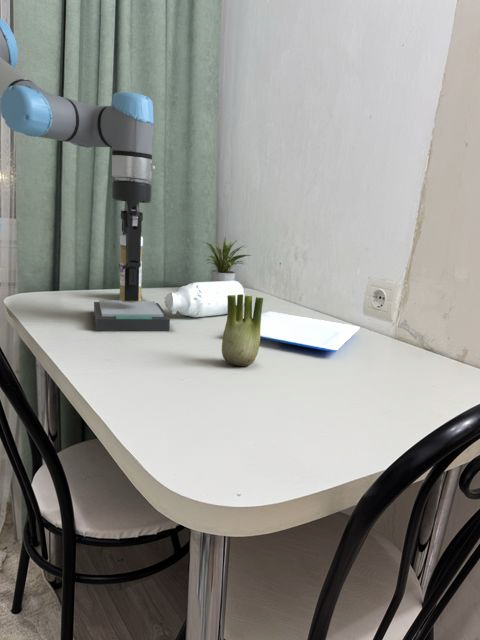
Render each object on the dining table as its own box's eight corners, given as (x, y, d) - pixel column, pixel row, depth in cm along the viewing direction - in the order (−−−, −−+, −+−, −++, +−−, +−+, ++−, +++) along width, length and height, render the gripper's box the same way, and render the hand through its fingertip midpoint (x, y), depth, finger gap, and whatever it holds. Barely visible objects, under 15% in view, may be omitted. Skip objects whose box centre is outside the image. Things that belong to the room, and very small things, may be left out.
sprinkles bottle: (114, 300, 105) (114, 234, 101) (131, 297, 109) (132, 234, 105) (129, 304, 103) (130, 236, 99) (146, 301, 106) (147, 236, 103)
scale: (93, 312, 112) (93, 299, 111) (157, 313, 117) (158, 300, 116) (96, 331, 97) (96, 315, 97) (169, 330, 102) (170, 316, 101)
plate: (359, 335, 113) (360, 326, 113) (335, 359, 93) (337, 349, 92) (266, 319, 121) (267, 310, 120) (226, 338, 100) (226, 328, 100)
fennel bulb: (259, 363, 87) (266, 294, 83) (250, 371, 82) (256, 299, 79) (228, 357, 88) (233, 289, 85) (217, 365, 84) (222, 293, 81)
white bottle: (158, 315, 114) (159, 280, 112) (223, 309, 127) (225, 277, 125) (177, 323, 109) (179, 287, 106) (244, 316, 121) (246, 283, 119)
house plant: (214, 299, 139) (218, 238, 134) (186, 289, 149) (189, 233, 144) (253, 296, 148) (258, 239, 144) (224, 287, 158) (228, 234, 153)
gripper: (158, 182, 93) (154, 307, 99) (145, 183, 108) (143, 290, 115) (115, 178, 90) (114, 306, 97) (109, 179, 106) (109, 289, 112)
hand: (130, 297), depth 106 cm, fingers closed on sprinkles bottle, 4 cm apart
